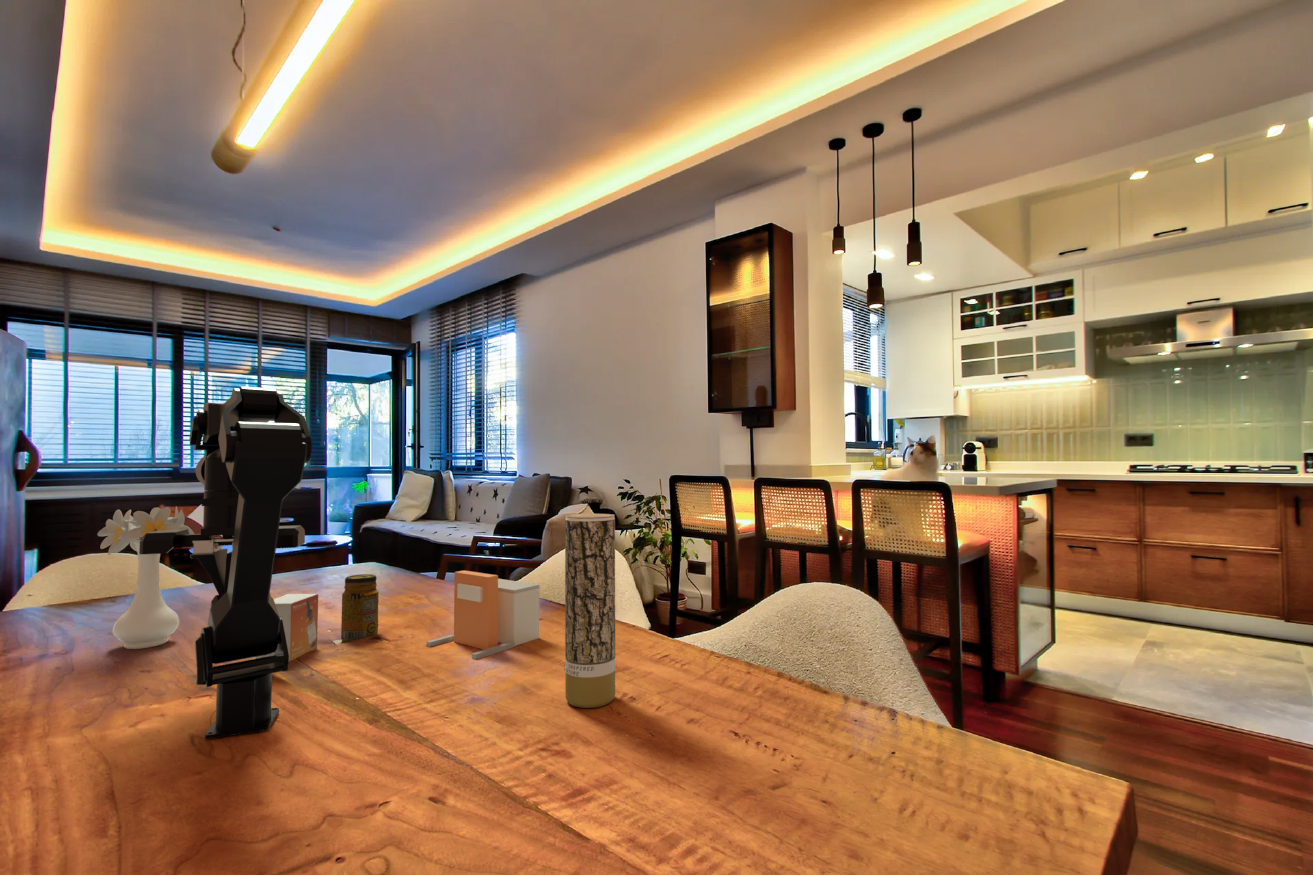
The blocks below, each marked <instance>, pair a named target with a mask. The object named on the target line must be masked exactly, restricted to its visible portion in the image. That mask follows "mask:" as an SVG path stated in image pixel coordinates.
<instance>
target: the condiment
mask: <svg viewBox="0 0 1313 875" xmlns="http://www.w3.org/2000/svg"><path fill="white" fill-rule="evenodd" d="M377 579H378V578H377V576H376V574H373V573H372V574H371V573H364V574H353V575H349V576H347V577H345V578H344V591H343V593H342V595H341V596H342V597H341V622H340V623H341V624H340V626H341V628H340V630H341V631H340V632H341V634H340V637H341V638H340V639H335V640H332V642H333V643H334V644H335V645H336V646H337V645H341V644H345V643H351V642H353V641H359V640H362V639H366V638H371V637H375V636H378V632H379V600H380V599H379V596H380V595H379V591H378V589H377V586H378V585H377Z"/></svg>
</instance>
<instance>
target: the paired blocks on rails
mask: <svg viewBox="0 0 1313 875" xmlns="http://www.w3.org/2000/svg"><path fill="white" fill-rule="evenodd" d="M539 638H540V584H536V583H530V582H523V581H516V580H510V579H502V578H498V643H500V644H498V646H495V647H491V648H488V649H485V650H484V649H481V650H478V651H475V652H473V653H471V659H473V660H478V659H482V658H484V657H488V656H491V655H494V654H497V653H501V652H503V651H506V650H509V649H513V648H515V646H518V645H521V644H525V643H528V642H531V641H534V640H537V639H539ZM451 641H453V642H454V633H453V634H448V635H445V636H441V637H438V638H435V639H430V640H426V645H425V646H426V647H428V648H430V647H434V646H438V645H441V644H445V643H448V642H451Z"/></svg>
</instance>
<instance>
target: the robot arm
mask: <svg viewBox="0 0 1313 875" xmlns="http://www.w3.org/2000/svg"><path fill="white" fill-rule="evenodd" d="M270 421H271V422H270ZM312 444H313V442H312V436H311V434H310V429H309V427H308V424H307V421H306V417H305V416H304V415H302V414H301V413H300V412H299V411H297V410H296V409H295V408H293V407H292V406H291V405H290V404H288V403H287V402H285V399H284V395H283V393H282V390H281V391H280V390H279V391H278V390H277V389H275V388H265V387H252V386H239V387H238V388H237V387H236V388H235V387H233V388H232V391H231V396H230V397H229V398H227V400H226V401H225V402H223V403H220V402H206V403H204V405H203V408H202V409H198V410H197V411H196V414H195V416H193V417H192V422H191V428H190V434H189V446H192V449H193V451H205V455H204V456H203V457H201V458H200V459H199V461H198V462H197V464H196V467H195V476H196V478H197V481H199V482H200V483H201V484H202V485H203V486H204V488H203V492H204V493H203V498H201V507H203V516H202V517H203V518H202V520H203V521H202V522H203V523H202V524H203V525H202V528H200V533H194V534H189V531H188V529H178V530H158V531H154V532H150V533H146V534H145V535H144V536H143V537H142V538H141V540H140V549H139V554H160V555H162V554H163V555H164V554H168V553H169V552H170V551H171V550H173V549H183V548H192V554H189V556H190V557H189V558H190V559H191V560H193V559H194V560H195V559H197V560H198V561H199V562H200V564H201V566H202V567H203V568H204V570H205V572H206V573H207V574H208V576H209V578H210V580H211V582H212V584H213V586H214V588H215V590H216V592H217V594H216V595H214V596H213V598H212V599H211V600H210V601H211V602H210V609H209V613H208V621H207V626H206V627H205V626H204V627H202V628H201V631H200V634H199V637H198V638H197V639H196V640H195V643H194V645H195V646H194V647H195V649H194V650H195V663H196V665H195V666H196V678H195V680H196V682H195V683H196V685H197V686H204V685H205V688H209V687H212V686H215V685H216V697H215V698H216V700H215V705H216V706H215V721H214V722H213V724H211V726H210V727H209V728H208V729H207V731H206V732H205V733H204V738H205V739H214V738H222V737H228V736H235V735H242V734H243V735H244V734H249V733H250V734H252V733H258V732H265V731H267V730H269V729H270V728H271V726H272V725H273V723H274V721H275V719H276V718H277V716H278V714H279V713H280V708H279V707H272V698H273V697H272V690H273V688H272V687H273V674H275V673H280V672H282V673H283V672H288V671H289V670H288V669H289V662H290V661H289V653H288V648H287V642H286V637H285V631H284V626H283V621H282V618H281V616H279V614H278V611H277V608H276V605H275V602H274V599H275V598H273V597H272V596H271V586H272V578H273V574H274V573H273V572H274V563H275V557H276V550H277V549H291V548H292V549H294V548H298V547H301V546H302V545H304V544H305V542H306V530H305V528H304V527H303V526H302V525H300V524H298V525H280V522H281V515H282V508H283V501H284V499H285V498H286V497H287V496H288V495H289V494H290V493H291V492H292V491H293V490H294V489H295V488H296V487H297V486H299V484H300V483H301V482H302V479H303V476H304V475H303V474H304V471H305V466H306V463H309V462H310V461H311V457H312V449H313V446H312ZM212 536H213V537H212ZM214 536H215V537H214ZM216 536H217V537H216ZM218 536H219V537H218ZM223 546H231V548H232V550H231V551H230V552H228V548H222V547H223ZM272 653H274V655H273V656H268V657H263V658H257V659H256V657H258V656H263V655H269V654H272ZM240 660H242V661H240ZM235 661H237V662H235ZM224 663H225V664H224ZM213 665H216V666H213Z"/></svg>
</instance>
